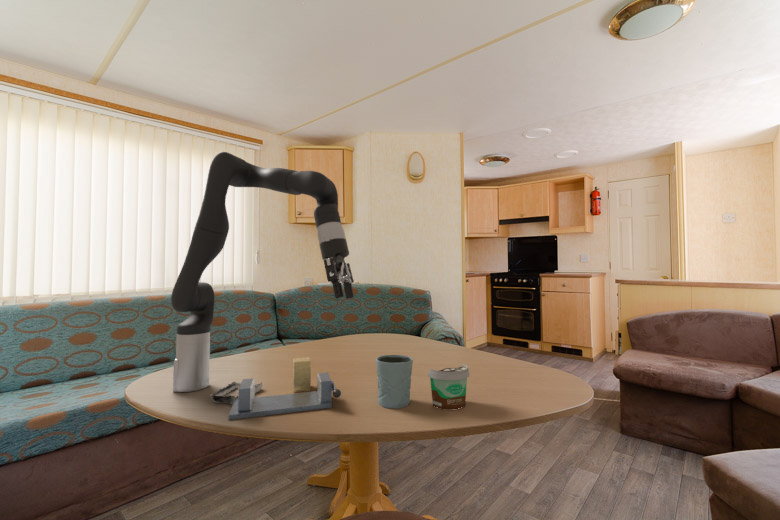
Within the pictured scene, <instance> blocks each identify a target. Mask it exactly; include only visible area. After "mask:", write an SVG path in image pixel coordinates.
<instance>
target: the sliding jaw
mask: <svg viewBox="0 0 780 520" xmlns="http://www.w3.org/2000/svg"><path fill="white" fill-rule="evenodd" d="M255 379H256V378H243V379H242V381H241V382H240V383H241V385H240V387H239V389H238V395H237V396H238V412H240V411H249V410H251V409H252V406H253V402H254V398H255V393H254V390H255V385H256V384H255V383H256V382H255Z"/></svg>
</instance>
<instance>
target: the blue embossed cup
mask: <svg viewBox="0 0 780 520" xmlns="http://www.w3.org/2000/svg"><path fill="white" fill-rule="evenodd" d="M375 362H376V363H375V365H376V374H377V378H376V380H377V381H376V382H377V389H378V391H377V398H378V400H377V401H378V405H379V406H381V407H383V408H386V409H391V410H392V409H403V408H406V407H407V406H409V405H408V404H410V400H411V399H410V398H411V391H410V390H411V386H412V385H411V383H412V375H413V374H412V372H413V371H412V370H413V362H414V360H413V357H411V356H407V355H403V354H386V355H385V354H384V355H380V356H377V357H376V358H375ZM405 406H406V407H405Z"/></svg>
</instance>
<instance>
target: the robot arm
mask: <svg viewBox="0 0 780 520" xmlns="http://www.w3.org/2000/svg"><path fill="white" fill-rule="evenodd" d="M205 185H206V186H205V189H204V195H203V199H202V203H201V206H200V209H199V210H200V211H199V214H198V217H197V220H196V223H195V225H194V230H193V232H192V236H191V241H190V244H189V247H188V250H187V254H186V256H185V259H184V262H183V264H182V267H181V270H180V272H179V274H178V277H177V279H176V281H175V284H174V287H173V289H172V292H171V297H170V299H171V300H170V301H171V303H170V304H171V306H172V308H173V309H174V311H176V312H179V313H188V312H189V313H190V314H189V315H188V317H187V318H186V319H185V320H184V321H182V322H180V323H179V324H178V325H177V327H176V346H175V347H176V349H175V351H176V352H175V359H174V360H173V371H172V374H173V375H172V376H173V378H172V379H173V381H172V382H173V383H172V392H179V393H187V392H189V393H190V392H195V391H200V390H203V389H206V388H207V387H209V386H210V359H211V358H210V357H211V356H210V355H211V354H210V353H211V352H210V351H211V327H212V324H213V321H214V311H215V291H214V288H213V287H212V285H211V284H209V283H208V282H203V281H202V282H200V280H201V277H202V276H203V273H204V271H205V270H206V269H207V267H209V265H210V264H211V263H212V262H213V261H214V260H215V258H216V257H217V256H218V255H220V254H221V252H222V251H223V249H224V247H225V244H226V240H227V237H228V234H229V229H230V223H229V222H230V221H229V217H228V214H227V213H228V212H227V207H226V198H227V194H228V190H229V187H234V188H259V189H261V188H262V189H266V190H271V191H275V192H278V193H284V194H288V195H293V196H299V195H300V196H301V195H307V196H310V197H311V198H314V200H315V201H316V206H317V207H315V209H314V211H313V218H314V222H315V226H316V231H317V232H316V233H317V235H316V236H317V240H318V241H317V242H318V245H319V249H320V253H321V258H322V260H323V263H324V269H325V274H326V279H327V282H329V283H330V284H331V285H332V290H333V294H334V298H336V299H342V298H344V297H345V298H346V300H350V299H354V297H355V293H354V290H353V283H354V282H355V281H354V278H353V273H352V270H351V265H350V263H349V262H345V258H346V257H348V256H349V255H350V251H349V246H348V242H347V238H346V233H345V230H344V228H343V225H342V220H341V217H340V212H339V195H338V190H337V187H336V184H335V183H334V182H333V181H332V180H331V179H329V177H327V176H326V175H325V174H323V173H322V172H319V171H316V170H315V171H314V170H293V169H289V168H283V167H270V168H267V167H266V168H265V167H260V166H257V165H255V164H252V163H250V162H247V161H246V160H244V158H243V159H242V158H241V157H238V156H236V155H234V154H232V153H231V152H227V151H220V152H218V153H217V154H215V155H214V157H213V158H212V160H211V162H210V165H209V170H208V173H207V178H206V184H205Z"/></svg>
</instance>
